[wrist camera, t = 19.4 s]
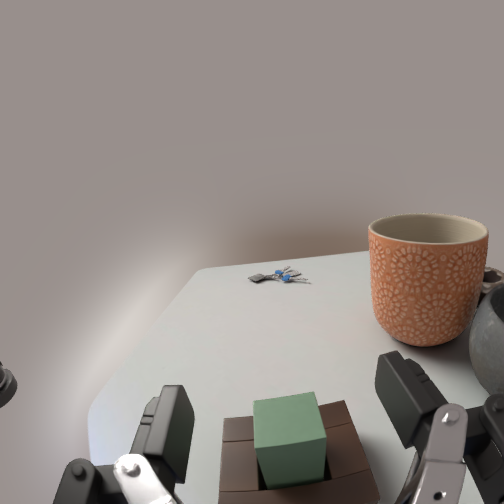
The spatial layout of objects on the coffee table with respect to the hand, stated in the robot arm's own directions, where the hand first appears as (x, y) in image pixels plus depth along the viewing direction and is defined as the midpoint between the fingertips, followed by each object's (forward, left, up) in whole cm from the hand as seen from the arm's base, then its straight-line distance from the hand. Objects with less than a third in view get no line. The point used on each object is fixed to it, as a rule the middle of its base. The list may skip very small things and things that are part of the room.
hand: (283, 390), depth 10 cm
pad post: (+1, +3, -15) cm, 16 cm away
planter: (+27, +15, -16) cm, 34 cm away
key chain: (+17, +49, -16) cm, 54 cm away
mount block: (+1, +3, -15) cm, 16 cm away
